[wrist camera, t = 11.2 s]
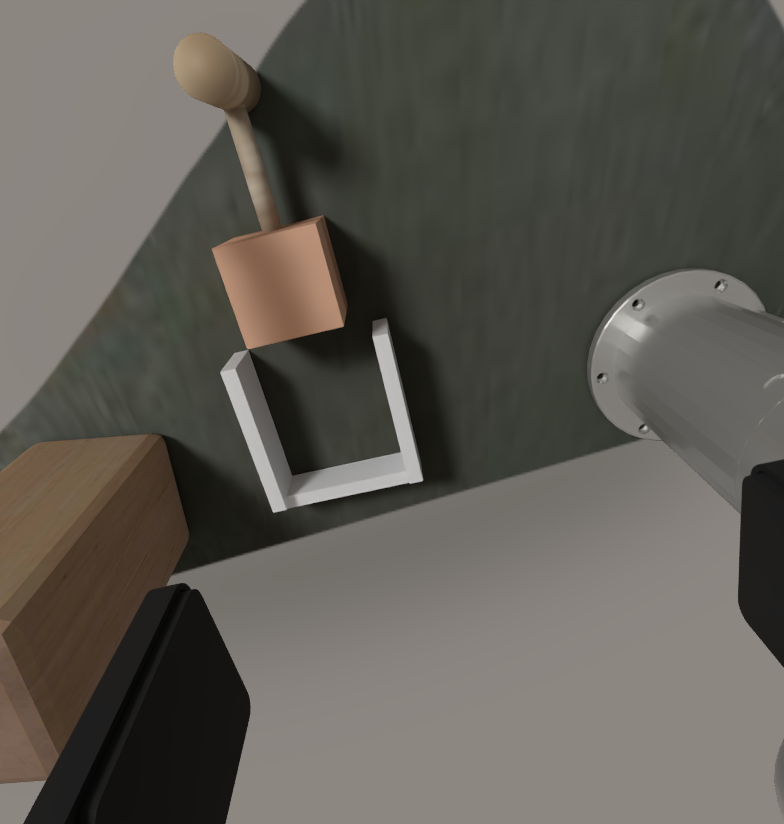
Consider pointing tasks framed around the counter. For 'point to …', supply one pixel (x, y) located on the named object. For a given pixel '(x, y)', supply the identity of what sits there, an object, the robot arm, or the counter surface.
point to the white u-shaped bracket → (327, 481)
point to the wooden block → (75, 579)
